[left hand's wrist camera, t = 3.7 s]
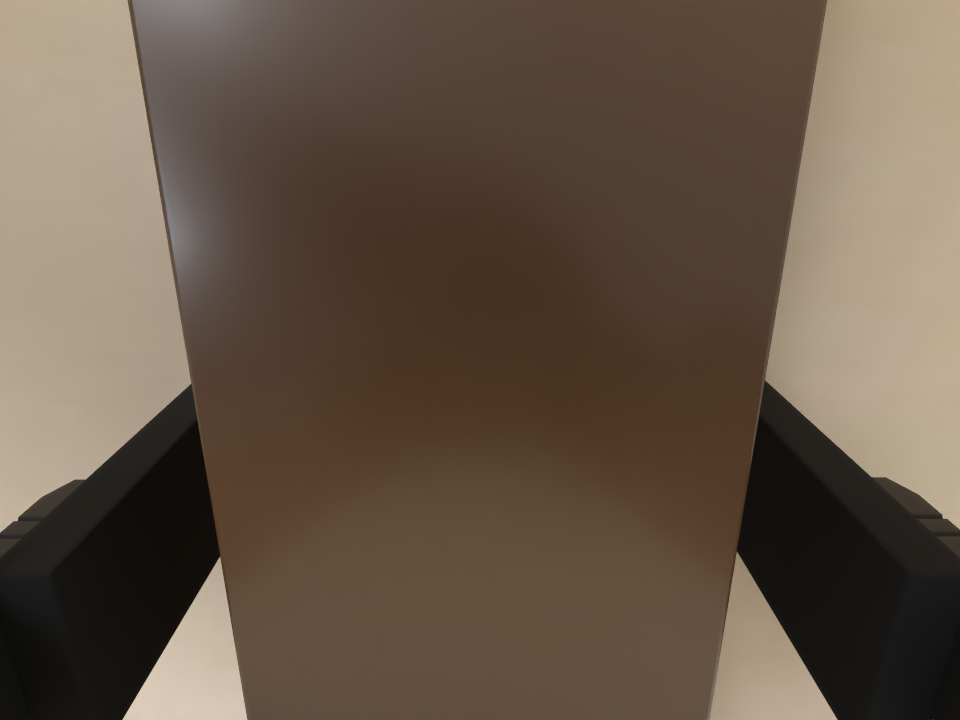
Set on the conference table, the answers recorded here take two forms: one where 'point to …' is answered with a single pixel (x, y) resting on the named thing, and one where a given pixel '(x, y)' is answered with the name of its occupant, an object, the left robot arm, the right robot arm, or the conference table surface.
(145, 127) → the conference table surface
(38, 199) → the conference table surface
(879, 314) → the conference table surface
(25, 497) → the conference table surface
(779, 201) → the beam
